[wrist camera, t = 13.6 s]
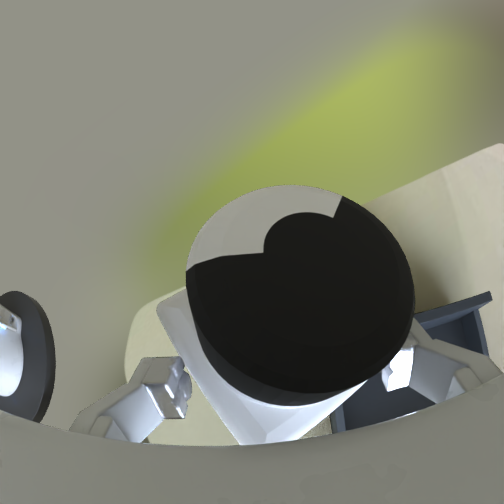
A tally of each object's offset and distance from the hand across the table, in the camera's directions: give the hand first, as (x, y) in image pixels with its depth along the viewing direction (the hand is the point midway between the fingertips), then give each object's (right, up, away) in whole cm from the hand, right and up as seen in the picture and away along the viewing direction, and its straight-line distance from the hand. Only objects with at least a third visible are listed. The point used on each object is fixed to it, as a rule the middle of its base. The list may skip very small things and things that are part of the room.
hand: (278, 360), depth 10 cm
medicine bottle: (0, -3, +7) cm, 7 cm away
